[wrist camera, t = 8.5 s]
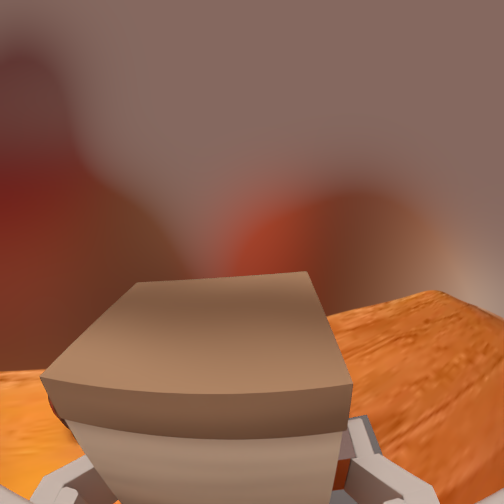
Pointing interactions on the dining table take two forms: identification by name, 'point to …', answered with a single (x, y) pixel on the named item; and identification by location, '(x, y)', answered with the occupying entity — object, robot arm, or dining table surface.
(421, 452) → the dining table surface
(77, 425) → the birch block
